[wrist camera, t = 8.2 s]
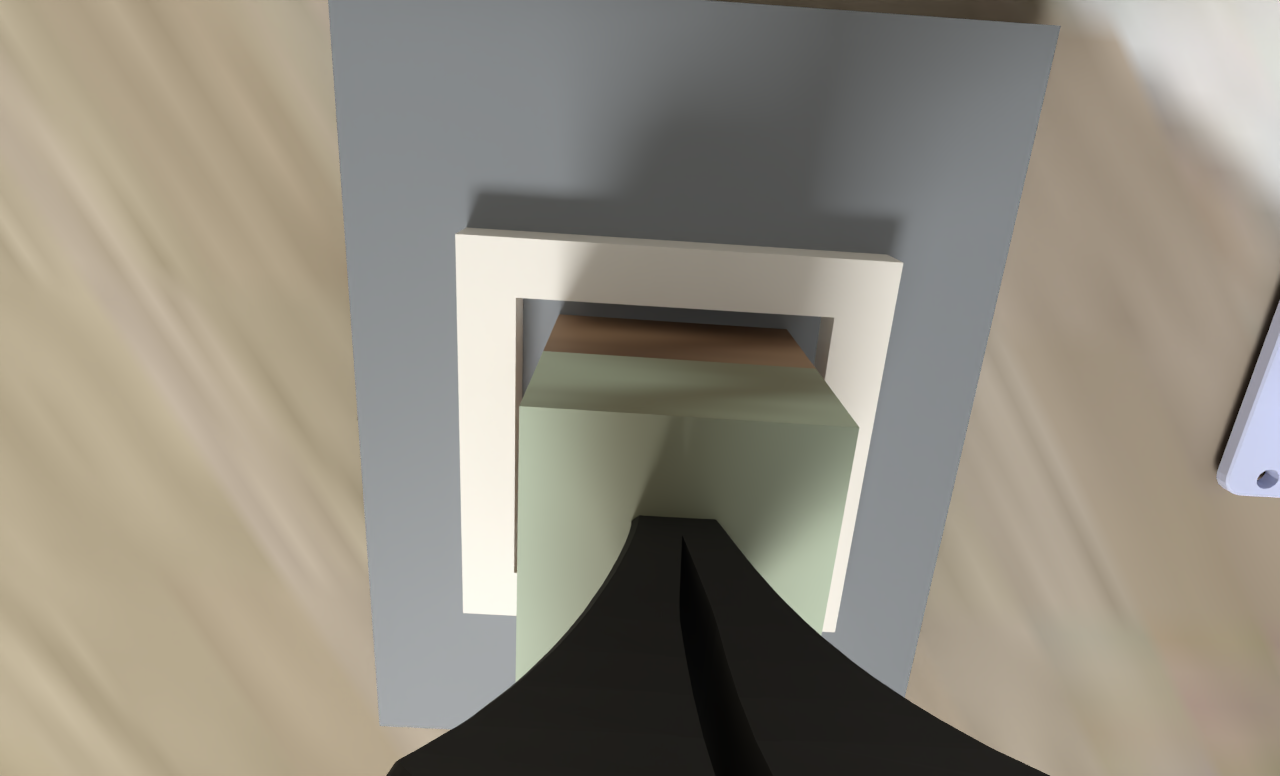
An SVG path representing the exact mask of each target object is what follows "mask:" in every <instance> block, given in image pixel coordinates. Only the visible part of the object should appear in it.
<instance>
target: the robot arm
mask: <svg viewBox="0 0 1280 776" xmlns="http://www.w3.org/2000/svg"><path fill="white" fill-rule="evenodd" d="M1264 471H1266V472H1265V474H1264V475H1263V477H1262V478H1260V479H1259V480H1257V478H1258V477H1259V475H1260V474H1261V473H1263V472H1264ZM1216 478H1217V481H1218V484H1219V485H1221V486H1222V487H1223V488H1224V489H1226V490H1228V491H1229V492H1231V493H1233V494H1236V495H1243V496H1261V497H1278V498H1280V301H1279V303H1278V306H1277V309H1276V312H1275V314H1274V317H1273V320H1272V323H1271V325H1270V328H1269V331H1268V334H1267V336H1266V339H1265V342H1264V345H1263V347H1262V350H1261V353H1260V355H1259V358H1258V361H1257V364H1256V366H1255V369H1254V372H1253V375H1252V377H1251V380H1250V383H1249V386H1248V388H1247V391H1246V394H1245V397H1244V399H1243V402H1242V405H1241V408H1240V410H1239V413H1238V416H1237V418H1236V421H1235V424H1234V427H1233V429H1232V432H1231V435H1230V438H1229V440H1228V443H1227V446H1226V449H1225V451H1224V454H1223V457H1222V460H1221V462H1220V465H1219V468H1218V471H1217V477H1216ZM387 776H1050V775H1047V774H1045V773H1043V772H1041V771H1039V770H1037V769H1035V768H1033V767H1030V766H1028V765H1026V764H1024V763H1022V762H1020V761H1018V760H1015V759H1013V758H1011V757H1009V756H1007V755H1005V754H1003V753H1001V752H998V751H996V750H994V749H992V748H990V747H988V746H987V745H985V744H983V743H981V742H979V741H977V740H976V739H974V738H972V737H970V736H968V735H967V734H965V733H963V732H961V731H959V730H958V729H956V728H954V727H952V726H950V725H949V724H947V723H945V722H943V721H941V720H940V719H938V718H936V717H935V716H933V715H931V714H930V713H928V712H926V711H925V710H923V709H921V708H920V707H918V706H917V705H915V704H913V703H912V702H910V701H909V700H907V699H906V698H904V697H903V696H901V695H900V694H898V693H897V692H895V691H894V690H892V689H891V688H889V687H888V686H886V685H885V684H883V683H882V682H880V681H879V680H877V679H876V678H874V677H873V676H872V675H870V674H869V673H868V672H866V671H865V670H864V669H862V668H861V667H859V666H858V665H857V664H855V663H854V662H853V661H852V660H850V659H849V658H848V657H847V656H845V655H844V654H843V653H842V652H840V651H839V650H838V649H837V648H836V647H834V646H833V645H832V644H831V643H829V642H828V641H827V640H826V639H824V638H823V637H822V636H821V635H820V634H819V633H818V632H816V631H815V630H814V629H813V628H812V627H811V626H810V625H809V624H808V623H806V622H805V621H804V620H803V619H802V618H801V617H800V616H799V615H798V614H797V613H796V612H795V611H794V610H793V609H792V608H791V607H790V606H789V605H788V604H787V603H786V602H785V601H784V600H783V599H782V598H781V597H780V596H779V595H778V594H777V593H776V592H775V590H774V589H773V588H772V587H771V586H770V585H769V584H768V583H767V581H766V580H765V579H764V578H763V577H762V576H761V575H760V573H759V572H758V571H757V570H756V569H755V568H754V566H753V565H752V564H751V563H750V562H749V560H748V559H747V558H746V557H745V555H744V554H743V553H742V552H741V550H740V549H739V548H738V547H737V545H736V544H735V543H734V541H733V540H732V539H731V538H730V536H729V535H728V534H727V532H726V531H725V530H724V529H723V527H722V526H721V525H720V524H719V522H718V521H717V520H716V519H698V518H678V517H659V516H642V515H639V516H637V517H636V518H635V519H634V520H632V521H631V527H630V531H629V534H628V537H627V539H626V542H625V544H624V546H623V548H622V550H621V553H620V555H619V557H618V558H617V560H616V562H615V564H614V565H613V567H612V569H611V571H610V572H609V574H608V576H607V578H606V579H605V581H604V582H603V584H602V586H601V587H600V588H599V590H598V591H597V593H596V594H595V596H594V597H593V598H592V600H591V601H590V603H589V604H588V606H587V607H586V608H585V610H584V611H583V612H582V614H581V615H580V616H579V618H578V619H577V620H576V621H575V623H574V624H573V625H572V626H571V627H570V629H569V630H568V631H567V632H566V633H565V634H564V635H563V636H562V638H561V639H560V640H559V641H558V642H557V643H556V644H555V645H554V646H553V647H552V649H551V650H550V651H549V652H548V653H547V654H545V655H544V656H543V657H542V658H541V659H540V660H539V661H538V662H537V663H536V664H535V665H534V666H533V667H532V668H531V669H530V670H529V671H528V672H527V673H526V674H525V675H524V676H522V677H521V678H520V679H519V680H518V681H517V682H516V683H514V684H513V685H512V686H511V687H510V688H508V689H507V690H506V691H505V692H503V693H502V694H501V695H499V696H498V697H497V698H495V699H494V700H493V701H491V702H490V703H489V704H488V705H486V706H485V707H484V708H482V709H481V710H480V711H478V712H477V713H476V714H474V715H473V716H472V717H470V718H469V719H468V720H466V721H465V722H463V723H461V724H460V725H458V726H457V727H455V728H453V729H452V730H450V731H448V732H446V733H445V734H443V735H441V736H440V737H438V738H436V739H435V740H433V741H431V742H429V743H428V744H426V745H424V746H423V747H421V748H419V749H418V750H416V751H414V752H412V753H410V754H409V755H407V756H405V757H403V758H401V759H399V760H398V761H397V762H395V764H394V765H393V767H392V768H391V770H390V771H389V773H388V774H387Z"/></svg>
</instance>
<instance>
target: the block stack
mask: <svg viewBox="0 0 1280 776" xmlns="http://www.w3.org/2000/svg"><path fill="white" fill-rule="evenodd" d="M858 433H859V426H858V425H857V424H856V422H855V421H854V419H853V418H852V417H851V415H850V414H849V413H848V411H847V410H846V409H845V407H844V406H843V405H842V403H841V402H840V401H839V399H838V398H837V396H836V395H835V394H834V392H833V391H832V390H831V388H830V387H829V386H828V384H827V383H826V382H825V380H824V379H823V378H822V376H821V375H820V373H819V372H818V371H817V369H816V368H815V367H814V365H813V364H812V363H811V361H810V360H809V359H808V357H807V356H806V355H805V353H804V352H803V351H802V349H801V348H800V346H799V345H798V344H797V342H796V341H795V340H794V338H793V337H792V336H791V334H790V333H789V332H788V330H787V329H776V328H761V327H745V326H730V325H715V324H700V323H684V322H669V321H654V320H639V319H623V318H608V317H593V316H578V315H562V314H559V316H558V318H557V320H556V323H555V325H554V327H553V330H552V332H551V334H550V336H549V339H548V341H547V343H546V346H545V348H544V350H543V353H542V355H541V357H540V360H539V362H538V364H537V366H536V369H535V371H534V373H533V376H532V378H531V380H530V383H529V385H528V387H527V389H526V392H525V394H524V396H523V399H522V401H521V403H520V406H519V463H518V538H517V614H516V682H517V681H518V680H519V679H520V678H521V677H522V676H524V675H525V674H526V673H527V672H528V671H529V670H530V669H531V668H532V667H533V666H534V665H535V664H536V663H537V662H538V661H539V660H540V659H541V658H542V657H543V656H544V655H545V654H547V653H548V652H549V651H550V650H551V649H552V647H553V646H554V645H555V644H556V643H557V642H558V641H559V640H560V639H561V638H562V636H563V635H564V634H565V633H566V632H567V631H568V630H569V629H570V627H571V626H572V625H573V624H574V623H575V621H576V620H577V619H578V618H579V616H580V615H581V614H582V612H583V611H584V610H585V608H586V607H587V606H588V604H589V603H590V601H591V600H592V598H593V597H594V596H595V594H596V593H597V591H598V590H599V588H600V587H601V586H602V584H603V582H604V581H605V579H606V578H607V576H608V574H609V572H610V571H611V569H612V567H613V565H614V564H615V562H616V560H617V558H618V557H619V555H620V553H621V550H622V548H623V546H624V544H625V542H626V539H627V537H628V534H629V531H630V527H631V521H632V520H634V519H635V518H636V517H637V516H639V515H642V516H659V517H678V518H698V519H716V520H717V521H718V522H719V524H720V525H721V526H722V527H723V529H724V530H725V531H726V532H727V534H728V535H729V536H730V538H731V539H732V540H733V541H734V543H735V544H736V545H737V547H738V548H739V549H740V550H741V552H742V553H743V554H744V555H745V557H746V558H747V559H748V560H749V562H750V563H751V564H752V565H753V566H754V568H755V569H756V570H757V571H758V572H759V573H760V575H761V576H762V577H763V578H764V579H765V580H766V581H767V583H768V584H769V585H770V586H771V587H772V588H773V589H774V590H775V592H776V593H777V594H778V595H779V596H780V597H781V598H782V599H783V600H784V601H785V602H786V603H787V604H788V605H789V606H790V607H791V608H792V609H793V610H794V611H795V612H796V613H797V614H798V615H799V616H800V617H801V618H802V619H803V620H804V621H805V622H806V623H808V624H809V625H810V626H811V627H812V628H813V629H814V630H815V631H816V632H818V633H819V634H820V635H822V630H823V624H824V619H825V613H826V608H827V602H828V597H829V591H830V586H831V580H832V575H833V569H834V564H835V559H836V553H837V548H838V542H839V537H840V531H841V526H842V520H843V515H844V509H845V504H846V498H847V493H848V487H849V482H850V476H851V471H852V466H853V460H854V455H855V449H856V444H857V438H858Z"/></svg>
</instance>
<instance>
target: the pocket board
mask: <svg viewBox="0 0 1280 776" xmlns="http://www.w3.org/2000/svg"><path fill="white" fill-rule="evenodd" d="M328 4H329V18H330V32H331V46H332V60H333V75H334V89H335V103H336V117H337V131H338V145H339V159H340V173H341V187H342V201H343V215H344V229H345V244H346V258H347V272H348V286H349V300H350V314H351V328H352V342H353V356H354V370H355V384H356V399H357V413H358V427H359V441H360V455H361V469H362V483H363V497H364V511H365V525H366V539H367V553H368V568H369V582H370V596H371V610H372V624H373V638H374V652H375V666H376V680H377V694H378V708H379V722H380V726H393V727H414V728H435V729H453V728H455V727H457V726H458V725H460V724H461V723H463V722H465V721H466V720H468V719H469V718H470V717H472V716H473V715H474V714H476V713H477V712H478V711H480V710H481V709H482V708H484V707H485V706H486V705H488V704H489V703H490V702H491V701H493V700H494V699H495V698H497V697H498V696H499V695H501V694H502V693H503V692H505V691H506V690H507V689H508V688H510V687H511V686H512V685H513V684H514V683H516V614H517V538H518V463H519V406H520V403H521V401H522V399H523V396H524V394H525V392H526V389H527V387H528V385H529V383H530V380H531V378H532V376H533V373H534V371H535V369H536V366H537V364H538V362H539V360H540V357H541V355H542V353H543V350H544V348H545V346H546V343H547V341H548V339H549V336H550V334H551V332H552V330H553V327H554V325H555V323H556V320H557V318H558V316H559V314H562V315H578V316H593V317H608V318H623V319H639V320H654V321H669V322H684V323H700V324H715V325H730V326H745V327H761V328H776V329H787V330H788V332H789V333H790V334H791V336H792V337H793V338H794V340H795V341H796V342H797V344H798V345H799V346H800V348H801V349H802V351H803V352H804V353H805V355H806V356H807V357H808V359H809V360H810V361H811V363H812V364H813V365H814V367H815V368H816V369H817V371H818V372H819V373H820V375H821V376H822V378H823V379H824V380H825V382H826V383H827V384H828V386H829V387H830V388H831V390H832V391H833V392H834V394H835V395H836V396H837V398H838V399H839V401H840V402H841V403H842V405H843V406H844V407H845V409H846V410H847V411H848V413H849V414H850V415H851V417H852V418H853V419H854V421H855V422H856V424H857V425H858V426H859V433H858V438H857V444H856V449H855V455H854V460H853V466H852V471H851V476H850V482H849V487H848V493H847V498H846V504H845V509H844V515H843V520H842V526H841V531H840V537H839V542H838V548H837V553H836V559H835V564H834V569H833V575H832V580H831V586H830V591H829V597H828V602H827V608H826V613H825V619H824V624H823V630H822V635H821V636H822V637H823V638H824V639H826V640H827V641H828V642H829V643H831V644H832V645H833V646H834V647H836V648H837V649H838V650H839V651H840V652H842V653H843V654H844V655H845V656H847V657H848V658H849V659H850V660H852V661H853V662H854V663H855V664H857V665H858V666H859V667H861V668H862V669H864V670H865V671H866V672H868V673H869V674H870V675H872V676H873V677H874V678H876V679H877V680H879V681H880V682H882V683H883V684H885V685H886V686H888V687H889V688H891V689H892V690H894V691H895V692H897V693H898V694H900V695H901V696H903V697H904V698H905V693H906V689H907V685H908V681H909V676H910V672H911V668H912V663H913V659H914V655H915V650H916V646H917V642H918V638H919V633H920V629H921V625H922V620H923V616H924V612H925V607H926V603H927V599H928V595H929V590H930V586H931V582H932V577H933V573H934V569H935V564H936V560H937V556H938V551H939V547H940V543H941V539H942V534H943V530H944V526H945V521H946V517H947V513H948V508H949V504H950V500H951V496H952V491H953V487H954V483H955V478H956V474H957V470H958V465H959V461H960V457H961V453H962V448H963V444H964V440H965V435H966V431H967V427H968V422H969V418H970V414H971V410H972V405H973V401H974V397H975V392H976V388H977V384H978V379H979V375H980V371H981V366H982V362H983V358H984V354H985V349H986V345H987V341H988V336H989V332H990V328H991V323H992V319H993V315H994V311H995V306H996V302H997V298H998V293H999V289H1000V285H1001V280H1002V276H1003V272H1004V268H1005V263H1006V259H1007V255H1008V250H1009V246H1010V242H1011V237H1012V233H1013V229H1014V225H1015V220H1016V216H1017V212H1018V207H1019V203H1020V199H1021V194H1022V190H1023V186H1024V181H1025V177H1026V173H1027V169H1028V164H1029V160H1030V156H1031V151H1032V147H1033V143H1034V138H1035V134H1036V130H1037V126H1038V121H1039V117H1040V113H1041V108H1042V104H1043V100H1044V95H1045V91H1046V87H1047V83H1048V78H1049V74H1050V70H1051V65H1052V61H1053V57H1054V52H1055V48H1056V44H1057V40H1058V35H1059V31H1060V27H1061V26H1055V25H1041V24H1028V23H1014V22H1000V21H986V20H972V19H958V18H945V17H931V16H917V15H903V14H889V13H875V12H862V11H848V10H834V9H820V8H806V7H792V6H779V5H765V4H751V3H737V2H723V1H709V0H328Z"/></svg>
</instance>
